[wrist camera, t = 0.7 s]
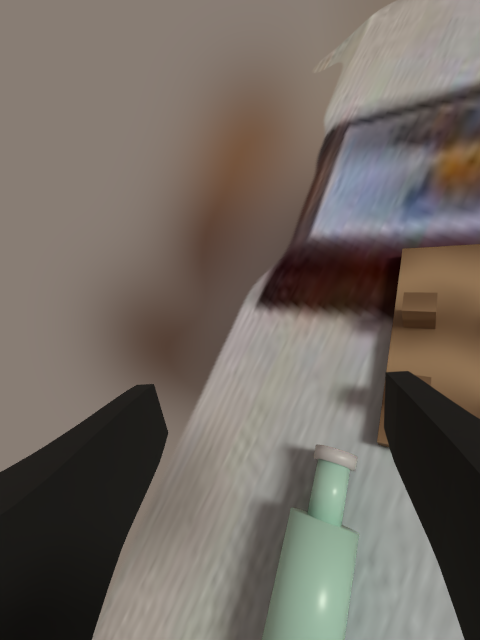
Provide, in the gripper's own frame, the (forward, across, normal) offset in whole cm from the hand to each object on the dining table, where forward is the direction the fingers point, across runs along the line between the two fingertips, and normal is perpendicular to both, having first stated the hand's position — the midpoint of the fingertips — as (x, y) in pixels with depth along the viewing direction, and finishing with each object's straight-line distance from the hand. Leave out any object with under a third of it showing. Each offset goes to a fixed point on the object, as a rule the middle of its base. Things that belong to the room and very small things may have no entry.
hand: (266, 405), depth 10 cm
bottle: (+5, -1, +15) cm, 16 cm away
